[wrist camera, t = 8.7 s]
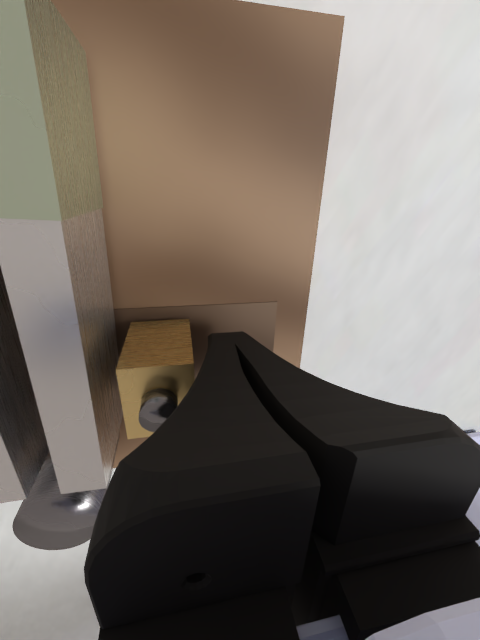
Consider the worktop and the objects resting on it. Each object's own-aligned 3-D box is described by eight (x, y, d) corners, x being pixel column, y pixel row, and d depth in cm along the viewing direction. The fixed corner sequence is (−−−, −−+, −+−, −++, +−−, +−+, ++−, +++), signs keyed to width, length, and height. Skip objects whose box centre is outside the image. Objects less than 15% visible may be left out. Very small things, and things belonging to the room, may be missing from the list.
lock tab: (191, 374, 12) (198, 446, 8) (138, 379, 11) (124, 456, 8) (189, 318, 11) (195, 376, 8) (131, 322, 10) (111, 383, 7)
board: (282, 425, 16) (290, 444, 15) (33, 457, 14) (20, 482, 12) (325, 35, 9) (345, 15, 8) (-142, -27, 7) (-203, -68, 6)
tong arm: (126, 407, 12) (107, 491, 8) (90, 410, 11) (57, 497, 8) (85, 51, 7) (15, -54, 4) (26, 42, 7) (-101, -78, 4)
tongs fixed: (123, 453, 13) (104, 551, 10) (51, 462, 12) (3, 570, 9) (47, 48, 7) (-66, -74, 4) (-89, 34, 7) (-364, -124, 3)
